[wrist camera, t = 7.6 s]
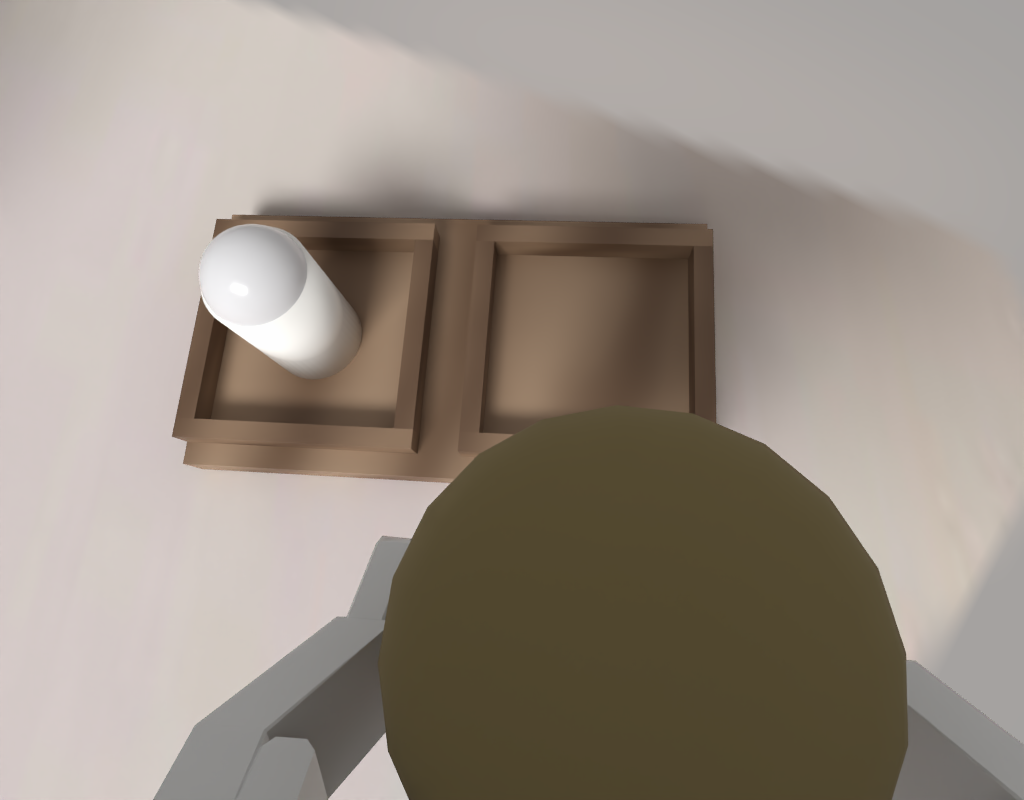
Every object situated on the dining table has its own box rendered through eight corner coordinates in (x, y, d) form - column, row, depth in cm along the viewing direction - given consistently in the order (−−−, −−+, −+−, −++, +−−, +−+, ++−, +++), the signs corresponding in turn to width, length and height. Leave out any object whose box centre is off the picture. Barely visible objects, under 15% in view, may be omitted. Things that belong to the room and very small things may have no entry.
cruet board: (202, 468, 28) (166, 458, 26) (247, 230, 31) (219, 200, 29) (703, 497, 26) (718, 489, 24) (700, 240, 29) (713, 209, 27)
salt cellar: (267, 377, 28) (160, 308, 20) (281, 293, 29) (184, 198, 21) (356, 381, 27) (279, 312, 20) (367, 296, 28) (298, 200, 21)
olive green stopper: (550, 436, 17) (546, 211, 6) (753, 568, 16) (1183, 573, 5) (416, 633, 16) (131, 773, 5) (623, 791, 14) (816, 1411, 4)
